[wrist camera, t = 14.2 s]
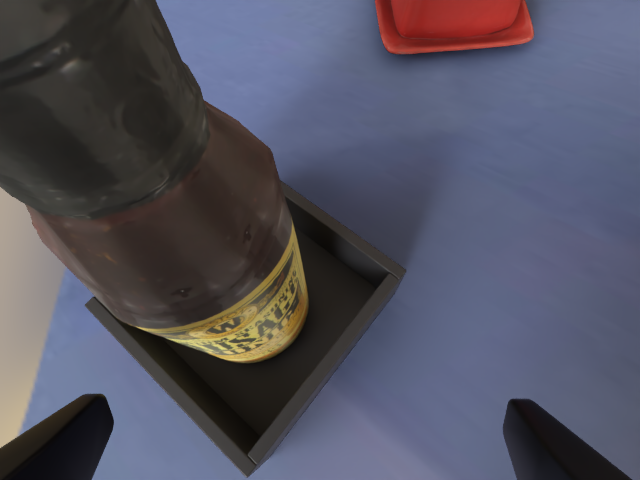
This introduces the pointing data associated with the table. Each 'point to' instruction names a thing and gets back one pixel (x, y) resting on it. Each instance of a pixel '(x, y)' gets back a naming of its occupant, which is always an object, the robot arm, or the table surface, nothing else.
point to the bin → (287, 367)
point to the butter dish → (452, 24)
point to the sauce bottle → (146, 179)
